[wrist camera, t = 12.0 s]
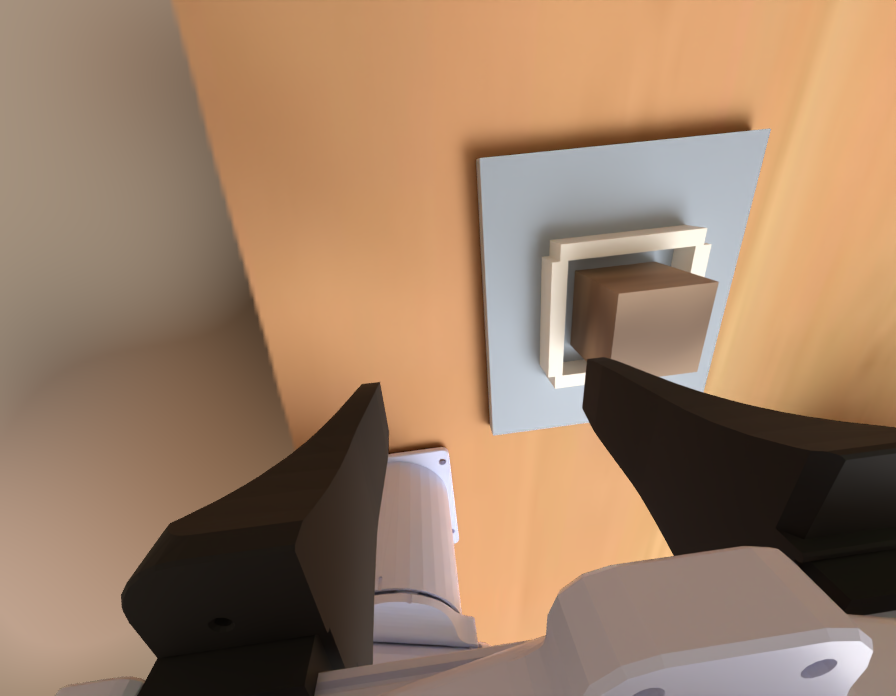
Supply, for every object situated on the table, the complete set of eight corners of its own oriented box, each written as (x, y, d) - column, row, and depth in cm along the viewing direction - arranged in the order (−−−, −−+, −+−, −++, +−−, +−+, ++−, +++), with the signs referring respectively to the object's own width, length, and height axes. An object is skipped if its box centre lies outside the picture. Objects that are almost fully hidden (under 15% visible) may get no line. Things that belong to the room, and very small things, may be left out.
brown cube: (642, 336, 21) (697, 371, 17) (570, 345, 21) (608, 383, 17) (654, 261, 19) (718, 281, 15) (574, 270, 19) (618, 293, 15)
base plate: (688, 399, 24) (717, 420, 22) (490, 426, 24) (498, 451, 22) (752, 131, 18) (802, 123, 15) (475, 159, 17) (485, 155, 15)
